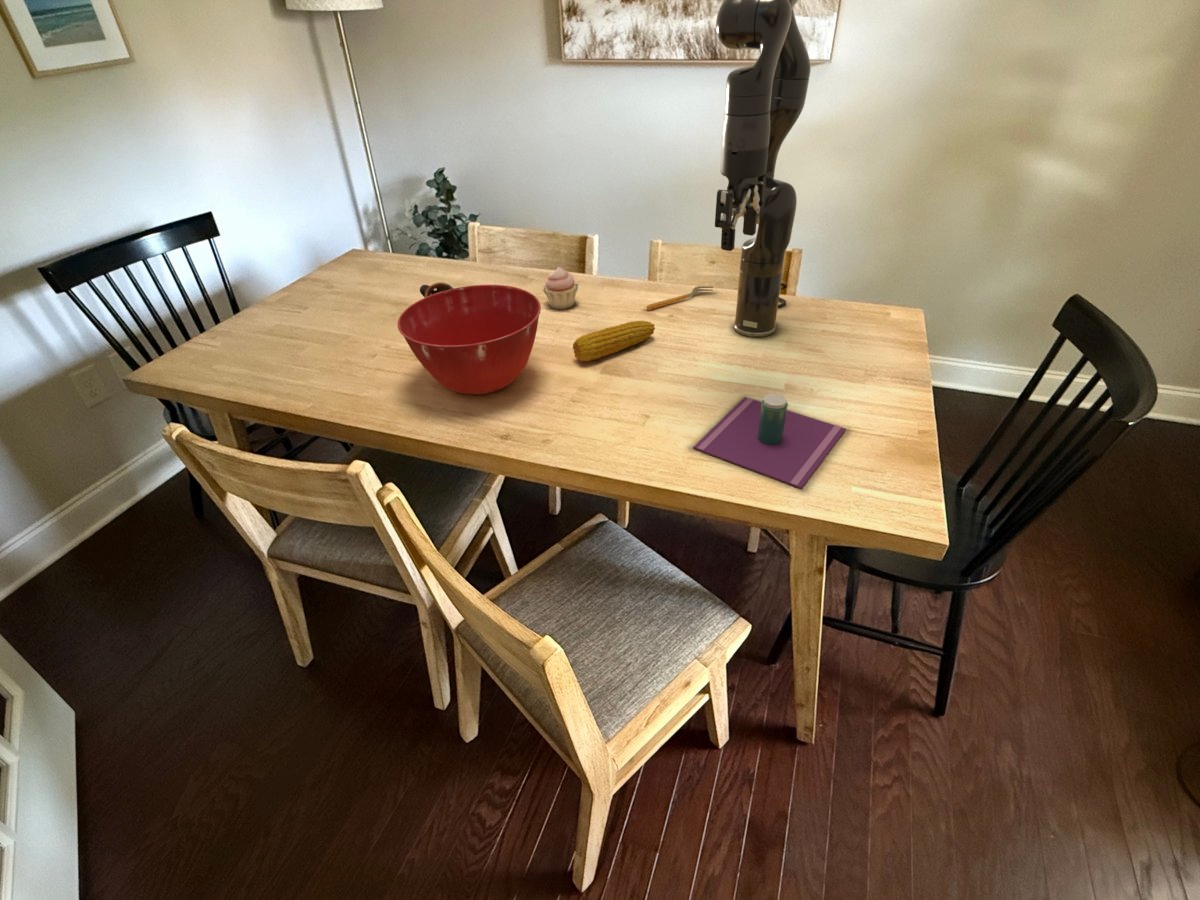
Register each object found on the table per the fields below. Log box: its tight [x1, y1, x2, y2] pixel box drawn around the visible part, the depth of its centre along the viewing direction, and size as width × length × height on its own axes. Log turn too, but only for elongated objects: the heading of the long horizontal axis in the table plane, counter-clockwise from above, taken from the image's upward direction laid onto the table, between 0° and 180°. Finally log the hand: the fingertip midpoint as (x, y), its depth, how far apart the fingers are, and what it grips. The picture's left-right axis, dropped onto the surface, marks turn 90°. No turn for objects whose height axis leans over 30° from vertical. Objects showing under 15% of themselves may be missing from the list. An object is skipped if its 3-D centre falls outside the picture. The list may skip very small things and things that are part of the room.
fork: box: [645, 285, 714, 311], centre depth 164 cm, size 2×2×20 cm
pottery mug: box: [419, 282, 454, 298], centre depth 165 cm, size 12×10×8 cm
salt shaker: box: [757, 393, 789, 445], centre depth 112 cm, size 4×4×8 cm
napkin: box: [692, 396, 847, 490], centre depth 114 cm, size 20×20×1 cm
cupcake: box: [542, 266, 579, 310], centre depth 163 cm, size 9×9×10 cm
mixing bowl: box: [397, 284, 542, 396], centre depth 132 cm, size 28×28×15 cm
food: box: [572, 320, 656, 362], centre depth 143 cm, size 21×6×6 cm, turn 126°
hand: (738, 242), depth 113 cm, fingers open, 8 cm apart
